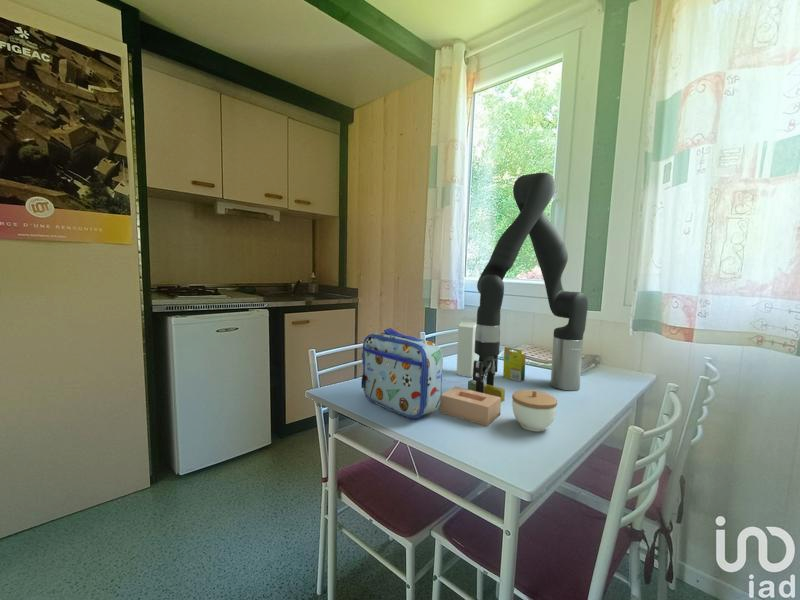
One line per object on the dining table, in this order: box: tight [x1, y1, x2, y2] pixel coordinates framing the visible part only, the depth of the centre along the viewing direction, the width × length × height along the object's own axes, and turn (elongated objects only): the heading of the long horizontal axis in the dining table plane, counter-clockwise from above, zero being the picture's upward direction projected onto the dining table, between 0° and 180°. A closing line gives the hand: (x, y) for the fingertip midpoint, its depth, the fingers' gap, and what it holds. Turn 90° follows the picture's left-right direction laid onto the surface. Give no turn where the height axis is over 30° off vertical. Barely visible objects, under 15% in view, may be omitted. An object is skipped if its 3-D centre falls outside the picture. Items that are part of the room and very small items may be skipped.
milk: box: [456, 316, 479, 378], centre depth 134 cm, size 6×6×22 cm
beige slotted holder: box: [439, 386, 502, 427], centre depth 97 cm, size 9×14×5 cm, turn 54°
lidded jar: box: [511, 389, 558, 432], centre depth 90 cm, size 11×11×9 cm
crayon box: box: [502, 346, 527, 383], centre depth 130 cm, size 7×3×12 cm, turn 40°
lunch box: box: [360, 327, 444, 419], centre depth 100 cm, size 28×10×22 cm, turn 44°
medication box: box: [467, 379, 506, 403], centre depth 111 cm, size 12×3×4 cm, turn 47°
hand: (484, 390), depth 110 cm, fingers open, 8 cm apart
